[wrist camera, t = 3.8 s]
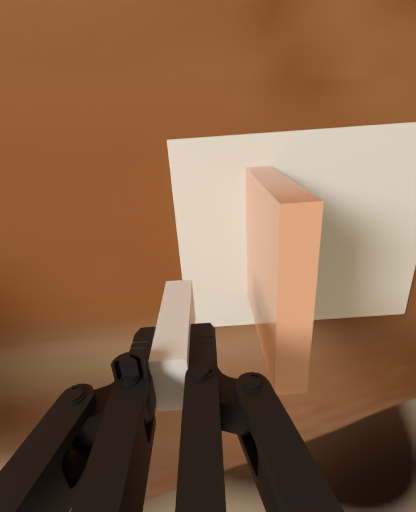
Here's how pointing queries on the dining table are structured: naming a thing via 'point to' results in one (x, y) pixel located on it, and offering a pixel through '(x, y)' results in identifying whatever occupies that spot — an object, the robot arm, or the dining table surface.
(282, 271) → the tile
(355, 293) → the mat
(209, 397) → the robot arm
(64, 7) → the dining table surface
